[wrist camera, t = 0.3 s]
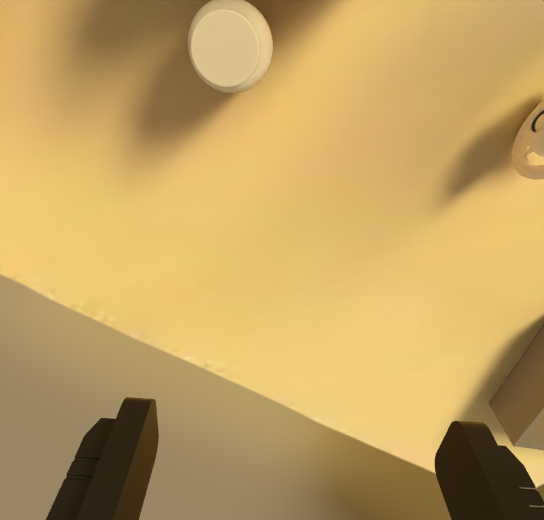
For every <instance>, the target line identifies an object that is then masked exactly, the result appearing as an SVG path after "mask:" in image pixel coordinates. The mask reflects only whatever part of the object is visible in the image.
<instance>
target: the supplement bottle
mask: <svg viewBox="0 0 544 520" xmlns="http://www.w3.org/2000/svg"><path fill="white" fill-rule="evenodd" d="M188 52H189V57H190V60H191V63H192V65H193V67H194V69H195V71H196V72H197V74H198V75H199V77H200V78H201V79H202V80H203V81H204V82H205V83H207V84H208V85H209V86H211V87H212V88H214V89H216V90H219V91H222V92H226V93H237V92H242V91H245V90H248V89H250V88H251V87H253V86H254V85H256V84H257V83H258V82H259V81H260V80H261V79H262V78H263V76H264V75H265V73H266V72H267V70H268V68H269V66H270V63H271V59H272V54H273V36H272V32H271V28H270V26H269V24H268V22H267V20H266V19H265V17H264V16H263V15H262V14H261V13H260V12H259V10H258V9H256V8H255V7H254V6H253V5H251V4H250V3H248V2H247V1H245V0H212V1H210V2H208V3H207V4H205V5H204V6H203V7H202V8H201V9H200V10H199V11H198V12H197V14H196V15H195V17H194V18H193V21H192V23H191V26H190V29H189V33H188Z"/></svg>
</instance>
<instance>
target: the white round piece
mask: <svg viewBox="0 0 544 520" xmlns="http://www.w3.org/2000/svg"><path fill="white" fill-rule="evenodd" d="M527 146H529V147H530V149H529V150H527ZM532 151H533V152H535V153H536V154H538V155H539V156H542V157H544V100H543V101H542V102H541V103H540V104H539V105H538V106H537V107H536V108H535V109H534V110H533V111H532V112H531V114H530V115H529V116H528V117H527V119H526V120H525V122H524V123H523V125H522V126H521V128H520V130H519V132H518V134H517V136H516V139H515V141H514V144H513V149H512V162H513V165H514V168H515V169H516V171H517V172H518V173H519V174H520V175H521V176H523V177H526V178H529V179H544V165H539V166H536V165H532V164H530V163H529V162H528V160H527V155H528V154H529V153H531V152H532Z"/></svg>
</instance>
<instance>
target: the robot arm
mask: <svg viewBox="0 0 544 520" xmlns="http://www.w3.org/2000/svg"><path fill="white" fill-rule="evenodd" d="M158 436H159V435H158V423H157V410H156V401H155V399H143V398H129V397H127V398H125V399H124V401H123V403H122V405H121V408H120V410H119V413H118V415H117V418H116V419H109V418H101V419H100V420H99V421H98V422H97V423H96V424H95V425H94V426H93V427H92V428H91V430H89V431H88V432H87V434H86V435H85V436H84V438H83V440H82V442H81V444H80V447H79V449H78V451H77V454H76V455H75V459H74V461H73V462H72V464H71V466H70V469H69V471H68V473H67V477H66V479H65V480H64V481H63V484H62V486H61V488H60V490H59V493H58V495H57V497H56V499H55V501H54V503H53V505H52V508H51V510H50V512H49V514H48V516H47V518H46V520H139V516H140V513H141V509H142V506H143V502H144V498H145V495H146V491H147V487H148V484H149V480H150V476H151V473H152V469H153V466H154V462H155V458H156V453H157V447H158ZM435 472H436V476H437V479H438V482H439V485H440V488H441V491H442V494H443V497H444V500H445V502H446V505H447V508H448V511H449V513H450V517H451V519H452V520H544V501H543V499H542V497H541V496H540V494H539V492H538V491H536V489H535V485H534V483H533V481H532V479H531V478H530V476H529V474H528V472H527V471H526V469H525V467H524V465H523V464H522V463H521V462H520V461H519V460H518V459H517V458H516V457H515V456H514V454H513V453H512V452H511V451H510V450H509V449H508V448H507V447H506V446H498V445H497V443H496V441H495V439H494V437H493V435H492V433H491V431H490V430H489V428H488V427H487V426H486V425H485V424H483V423H477V422H462V421H454V422H452V423H451V425H450V427H449V429H448V431H447V433H446V435H445V437H444V439H443V441H442V443H441V445H440V447H439V449H438V451H437V453H436V456H435Z"/></svg>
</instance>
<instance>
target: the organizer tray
mask: <svg viewBox="0 0 544 520" xmlns="http://www.w3.org/2000/svg"><path fill="white" fill-rule="evenodd" d="M490 406H491V407H492V409H493V411H494V413H495V414H496V416H497V418H498V420H499V421H500V423H501V425H502V427H503V428H504V430H505V432H506V434H507V435H508V437H509V439H510V441H511V442H512V444H513V446H518V447H525V448H533V449H540V450H544V326H543V327H542V329H541V330H540V331H539V333H538V334H537V336H536V337H535V339H534V340H533V342H532V343H531V344H530V346H529V347H528V349H527V350H526V352H525V353H524V355H523V356H522V357H521V359H520V360H519V362H518V363H517V365H516V366H515V367H514V369H513V370H512V372H511V373H510V375H509V376H508V378H507V379H506V380H505V382H504V383H503V385H502V386H501V388H500V389H499V391H498V392H497V393H496V395H495V396H494V398H493V399H492V401H491V402H490Z"/></svg>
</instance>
